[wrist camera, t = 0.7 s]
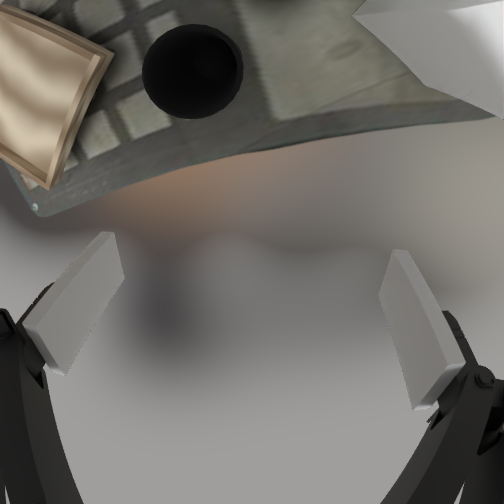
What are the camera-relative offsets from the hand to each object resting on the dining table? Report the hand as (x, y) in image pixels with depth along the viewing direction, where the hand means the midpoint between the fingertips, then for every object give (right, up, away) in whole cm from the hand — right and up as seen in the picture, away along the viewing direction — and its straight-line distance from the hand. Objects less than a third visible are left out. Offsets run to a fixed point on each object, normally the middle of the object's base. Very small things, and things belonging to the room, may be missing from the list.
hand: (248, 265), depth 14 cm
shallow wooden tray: (-27, +23, +14) cm, 38 cm away
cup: (-4, +22, +14) cm, 26 cm away
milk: (+19, +27, +8) cm, 34 cm away
